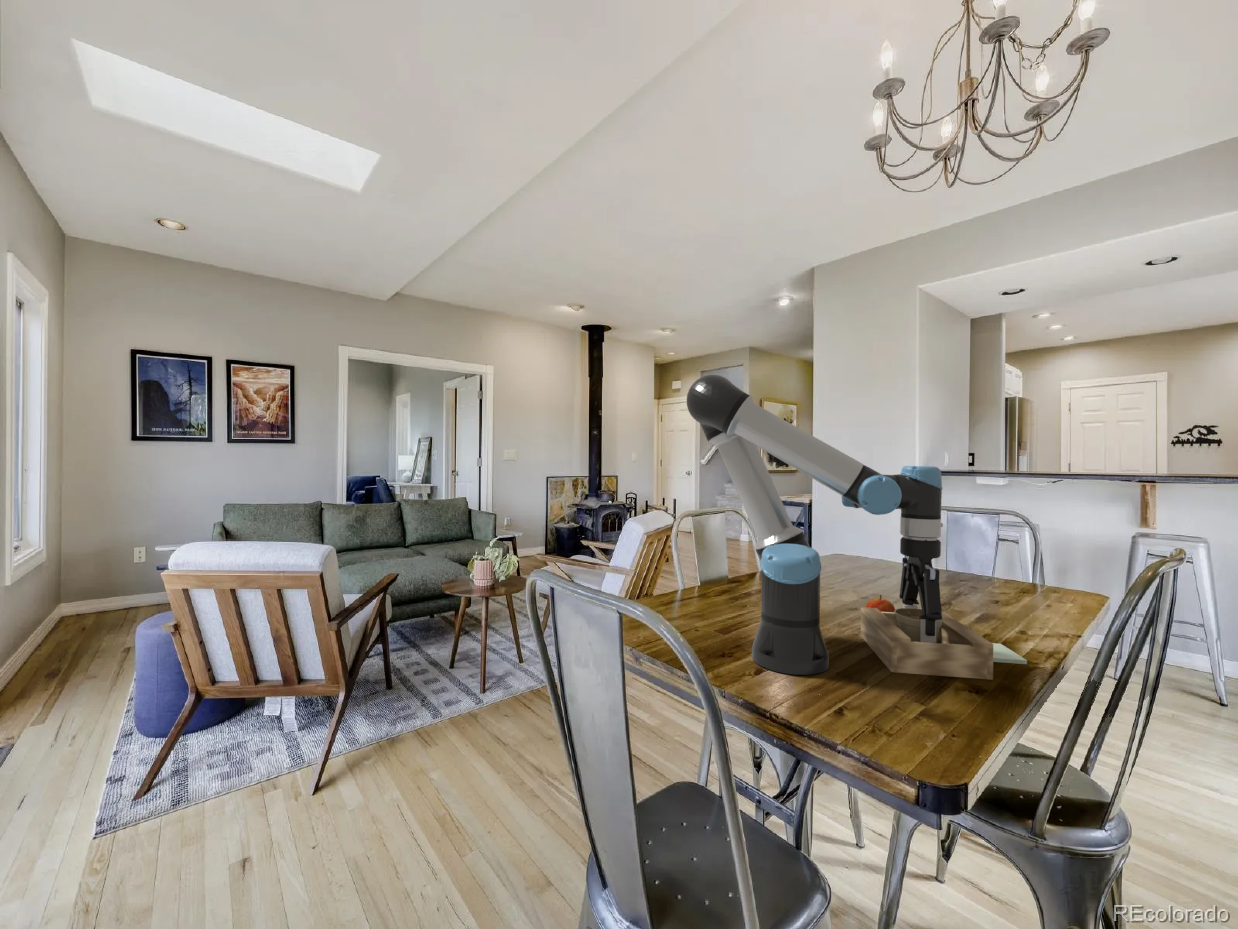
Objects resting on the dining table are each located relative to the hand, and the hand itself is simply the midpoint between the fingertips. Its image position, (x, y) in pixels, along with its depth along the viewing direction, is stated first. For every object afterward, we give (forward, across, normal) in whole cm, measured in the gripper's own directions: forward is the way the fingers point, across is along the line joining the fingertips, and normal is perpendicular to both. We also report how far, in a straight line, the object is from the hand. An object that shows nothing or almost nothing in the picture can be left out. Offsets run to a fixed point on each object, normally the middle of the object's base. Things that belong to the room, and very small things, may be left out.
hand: (918, 641), depth 112 cm
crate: (+3, 0, 0) cm, 3 cm away
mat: (+3, +4, -15) cm, 16 cm away
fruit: (+3, +20, +2) cm, 20 cm away
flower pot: (+3, 0, 0) cm, 3 cm away
